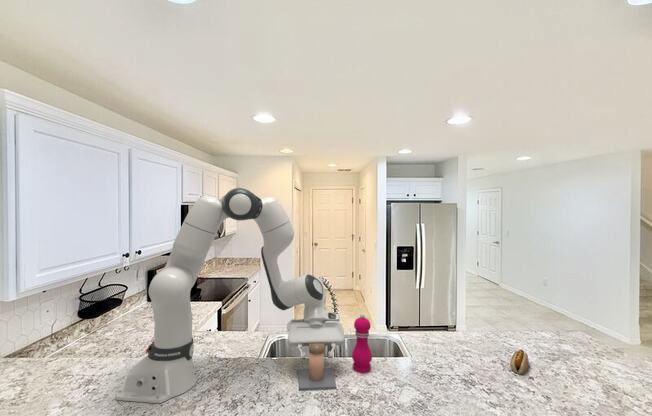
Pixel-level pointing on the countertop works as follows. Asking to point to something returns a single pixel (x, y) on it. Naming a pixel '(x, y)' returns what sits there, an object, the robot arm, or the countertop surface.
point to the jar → (316, 361)
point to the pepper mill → (362, 346)
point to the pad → (308, 384)
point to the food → (519, 362)
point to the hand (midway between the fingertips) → (316, 358)
